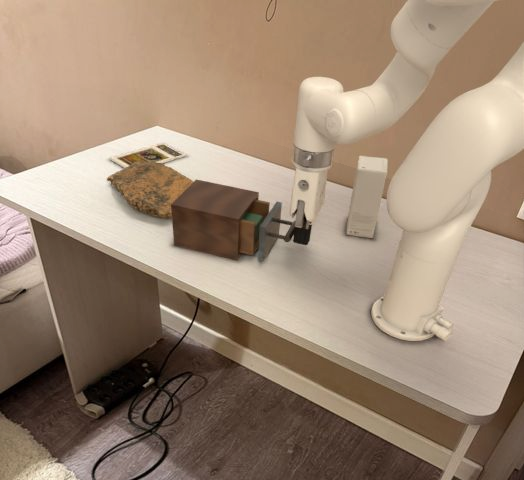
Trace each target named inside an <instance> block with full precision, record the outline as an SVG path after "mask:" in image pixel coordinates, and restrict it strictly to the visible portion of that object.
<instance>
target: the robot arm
mask: <svg viewBox="0 0 524 480" xmlns="http://www.w3.org/2000/svg"><path fill="white" fill-rule="evenodd" d="M500 1H502V0H407V1H406V2H405V3H404V5H403V6H402V7H401V8H400V10H399V11H398V13H397V14H396V15H395V16H394V18H393V20H392V21H391V25H390V29H389V30H390V32H389V33H390V34H389V35H390V39H391V41H392V44H393V46H394V48H395V50H396V53H395V55H394V56H393V58H392V60H391V61H390V62H389V64H388V65H387V67H386V68H385V69H384V70H383V72H382V73H381V74H380V75H379V76H378V78H377V79H376V80H375V81H374V83H372V84H371V85H367V86H364V87H361V88H357V89H353V90H349V91H344V87H343V85H342V84H341V82H339V81H338V80H336V79H334V78H331V77H326V76H310V77H307V78H305V79H303V80H302V82H301V83H300V85H299V88H298V94H297V96H298V97H297V106H296V114H295V115H296V116H295V125H294V136H293V142H292V143H293V144H292V153H291V163H292V165H293V166H295V171H294V176H293V183H292V190H291V198H290V205H289V207H290V209H289V216H290V218H292V219H295V220H294V221H295V228H294V235H293V236H292V242H293V243H294V244H297V245H304V246H308V245H309V243H310V240H311V235H312V229H313V224H312V223H313V222H314V221H316V219H317V218H318V215H319V214H320V212H321V210H322V208H323V205H324V203H325V198H326V190H327V189H326V188H327V182H328V181H327V180H328V172H329V171H328V170H329V169H331V168H332V167H333V161H334V156H335V150H336V149H335V148H336V145H339V146H348V145H352V144H355V143H357V142H361V141H363V140H365V139H367V138H370V137H372V136H376V135H378V134H381V133H384V132H385V131H387V130H389V129H390V128H391V127H393V126H394V125H395V124H396V123H397V122H398V121H399V120H400V119H401V118H402V117H403V116H404V115H405V114H406V113H407V112H408V111H409V109H410V108H411V107H412V106H414V104H415V103H416V102H417V101H418V99H420V97H421V96H422V95H423V93H424V92H425V90H426V89H427V87H428V86H429V83H430V81H431V80H432V78H433V76H434V75H435V72H436V68H437V66H438V65H439V63H440V62H441V61H442V60H443V59H444V58H445V57H446V56H447V54H448V53H449V52H450V51H451V50H452V48H454V46H455V45H456V44H457V43H458V42H459V41H460V39H461V38H463V36H465V34H466V33H467V32H468V31H469V30H470V28H471V27H473V25H474V24H475V23H476V22H477V21H478V20H479V19H480V18H481V16H483V14H484V13H485V12H486V11H487V10H488V9H489V7H491V5H492V4H493V3H495V2H500ZM523 150H524V41H523V42H522V43H521V45H520V46H519V47H518V49H517V51H516V52H515V53H514V54H513V55H512V56H511V58H510V59H509V60H508V62H507V63H506V64H505V65H504V66H503V68H502V69H501V70H500V71H499V72H498V73H497V74H496V75H495V77H494V78H492V80H490V81H489V82H487V83H485V84H484V85H482V86H479V87H476V88H474V89H470V90H468V91H466V92H464V93H462V94H460V95H458V96H457V97H455V98H454V99H453V100H451V101H450V102H448V104H446V105H445V106H444V107H443V108H442V109H441V110H440V111H439V112H438V113H437V115H436V116H435V117H434V118H433V120H432V121H431V122H430V124H429V125H428V126H427V128H426V129H425V131H424V132H423V134H422V135H421V137H420V138H419V139H418V141H417V142H416V143H415V144H414V146H413V147H412V149H411V150H410V151H409V153H408V155H407V156H406V157H405V159H404V160H403V161H402V163H401V164H400V165H399V167H398V169H397V170H396V171H395V173H394V174H393V176H392V178H391V180H390V182H389V185H388V188H387V191H386V203H385V204H386V209H387V214H388V216H389V217H390V220H392V222H393V223H394V224H395V225H396V226H397V227H398V228H400V229H401V230H403V232H402V234H401V238H400V240H399V244H398V247H397V251H396V254H395V258H394V261H393V265H392V268H391V271H390V274H389V278H388V281H387V285H386V288H385V292H384V295H383V296H381V297H379V298H378V299H376V300H375V301H374V303H373V305H372V307H371V310H370V313H371V314H370V315H371V319H372V321H373V322H374V324H375V325H376V326H377V328H378V329H380V331H382V332H384V333H385V334H387V335H389V336H391V337H393V338H395V339H398V340H402V341H407V342H408V341H409V342H419V341H425V340H429V339H430V338H433V337H434V336H436V338H437V337H438V338H439V339H441V340H442V341H444V342H447V341H448V340H449V339H450V337H451V336H452V334H453V332H452V331H451V329H452V327H453V323H452V322H450V321H449V320H447V319H444V318H443V316H442V315H441V314H442V312H443V310H444V306H441V305H440V303H441V300H442V298H443V294H444V293H445V290H446V287H447V285H448V281H449V280H450V278H451V274H452V272H453V270H454V267H455V264H456V261H457V260H458V257H459V255H460V252H461V250H462V247H463V245H464V242H465V240H466V237H467V235H468V233H469V231H470V228H471V226H472V225H473V223H474V220H476V217H477V216H478V213H479V212H480V209H481V208H482V206H483V205H484V202H485V200H486V198H487V196H488V193H489V190H490V187H491V182H492V170H493V169H495V168H496V167H497V166H499V165H500V164H502V163H503V162H506V161H508V160H510V159H512V158H513V157H514V156H516V155H517V154H519V153H520V152H522V151H523Z"/></svg>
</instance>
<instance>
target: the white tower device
mask: <svg viewBox="0 0 524 480" xmlns="http://www.w3.org/2000/svg"><path fill="white" fill-rule="evenodd" d="M388 165H389V164H388V158H387V157H386V158H385V157H376V156H375V157H374V156H366V155H359V156H358V160H357V164H356V168H355V175H354V180H353V185H352V191H351V196H350V197H351V198H350V204H349V208H348V216H347V223H346V233H345V234H346V235H347V236H353V237H359V238H367V239H373V238H374V235H375V230H376V225H377V221H378V217H379V216H378V215H379V212H380V207H381V203H382V202H381V201H382V198H383V195H384V190H385V184H386V180H387V175H388Z"/></svg>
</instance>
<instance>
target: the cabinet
mask: <svg viewBox="0 0 524 480" xmlns="http://www.w3.org/2000/svg"><path fill="white" fill-rule="evenodd" d="M259 196H260V192H259V191H255V190H249V189H245V188H240V187H235V186H231V185H230V186H229V185H227V184H220V183H216V182H211V181H207V180H202V179H201V180H200V179H194V181H193V183H192V184H191V185H190V186H189V187H188V188H187V189H186V190H185V191H184V192H183V193H182V194H181V195H180V196H179V197H178V198H177V199H176V200H175V201H174V202H173V203H172V204H171V212H172V217H171V223H172V235H173V246H176V247H178V248H182V249H188V250H190V251H195V252H199V253H204V254H208V255H209V254H210V255H212V256H217V257H220V258H224V259H225V258H226V259H229V260H233V261H234V260H235V261H239V259H240V258H241V256H242V254H243V253H240V252H239V231H240V220H241V219H242V217H243V216H244V215H245V213H246V212H247V211H248V209H249V208H250V207H251V205H252V204H253V203H254V201H255V200H260V199H259V198H260V197H259Z"/></svg>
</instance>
